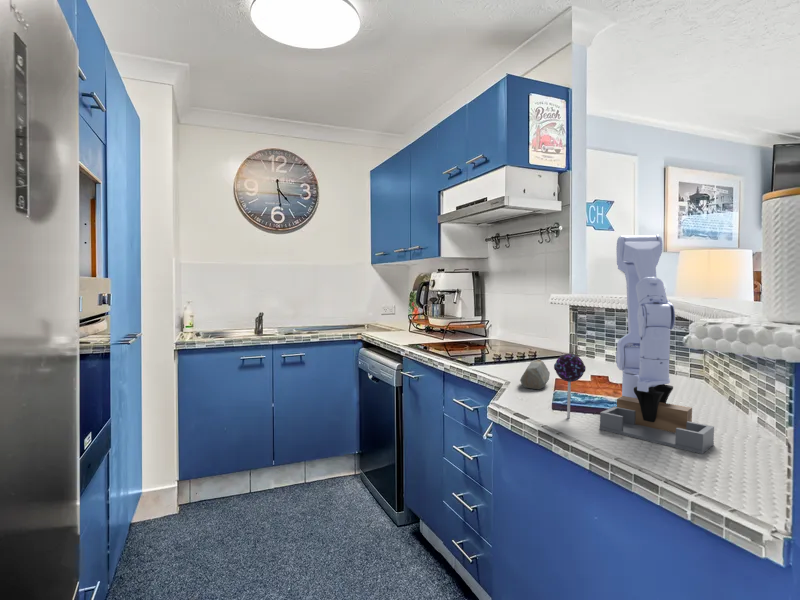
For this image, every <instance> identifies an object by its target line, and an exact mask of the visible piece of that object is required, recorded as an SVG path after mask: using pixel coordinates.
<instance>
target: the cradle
mask: <svg viewBox="0 0 800 600" xmlns="http://www.w3.org/2000/svg"><path fill="white" fill-rule="evenodd" d="M635 416H636V411H634V410H629V409H624V408H619V407H616V406H612V407H610V408H607V409H605V410H603V411H600V414H599V417H600V418H599V430H600V431H601V430H602V431H606V432H610V433H612V434H613V433H614V434H617V435H622V436H626V437H630V438H635V439H637V440H638V439H639V440H642V441H647V442H651V443H654V444H659V445H663V446H666V447H667V446H668V447H672V448H676V449H680V450H684V451H687V452H692V453H697V454H701V455H703V454H704V453H705V452H707V451H708V450H709V449H711V448H712V446H714V445H715V441H714V440H715V439H714V438H715V426H714V425H708V424H703V423H699V422H695V421H694V422H693V421H692V422H689V421H687V423H686V429H681V428H676V433H674V432H670V431H665V430H660V429H655V428H650V427H646V426H641V425H637V424H635Z"/></svg>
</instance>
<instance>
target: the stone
mask: <svg viewBox="0 0 800 600" xmlns="http://www.w3.org/2000/svg"><path fill="white" fill-rule="evenodd" d="M549 380H550V371H549V369H548V368H547V365H546V364H545V362H544V361H542V360H541V359H539V358H538V359H534V360H532V361H530V363H528V366H527V368H526V369H525V371H524V372H523V374H522V376H521V377H520V379H519V381H520V383H521V385H522V387H523V388H526V389H533V390H542V389H544V387H545V386H546V385H547V383H548V382H549Z"/></svg>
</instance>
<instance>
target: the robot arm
mask: <svg viewBox="0 0 800 600" xmlns="http://www.w3.org/2000/svg"><path fill="white" fill-rule="evenodd" d="M662 253H663V238H662V237H661V236H660V234H653V235H652V234H651V235H650V234H648V235H623V234H621V235H619V236H618V237H617V240H616V265H617V269H618V270H619V271H621V272H623V273H624V277H625V282H626V305H627V310H626V311H627V329H628V332H627V334H625V335H624V336H622V337H621V338H619V339H618V340H617V343H616V353H615V359H616V360H615V364H616V367H617V369H618V370H619V371H622V376H621V378H622V379H621V380H622V382H621V383H622V384H621V397H622V396H626V397H632V398H638V401H639V403H640V407H641V412H642V416H643V420H644V421H649V422H655V419H656V416H657V410H658V405H659V402H662V403H668V399H669V397H670V395H671V393H672V391H673V390H674V386H673V385H669V384H670V383H671V379H670V355H671V353H670V351H671V330H673V329H674V328H675V327H674V326H675V322H676V312H675V306H674V304H673V303H672V301H671V300H670V299H668V297H667V294H666V290H665V286H664V282H663V281H662V279H660V278H658V277H657V266H658V264H659V262H660V258H661V255H662Z"/></svg>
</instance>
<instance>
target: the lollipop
mask: <svg viewBox="0 0 800 600" xmlns="http://www.w3.org/2000/svg"><path fill="white" fill-rule="evenodd" d="M586 368H587V367H586V365H585V364H584V361H583V359H582V358H580V356H578V355H577V354H574V353H564V354H562V355H560V356H559V357H558V358H557V359H556V361H555V363H554V365H553V369H554V371H555V373H556V375H557V376H558V378H559V379H561V380H562V381H564V382H567V398H566V399H567V402H566V403H567V404H566V405H567V407H566V409H567V410H566V412H567V413H566V418H567V419H570V418H571V389H572V382H575V381H578V380H579V379H580V380H581V378H582V377H583V375H584V374H585V372H586Z"/></svg>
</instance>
